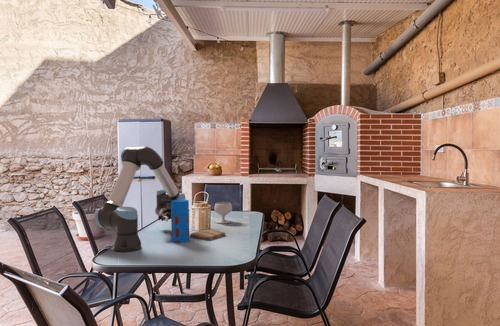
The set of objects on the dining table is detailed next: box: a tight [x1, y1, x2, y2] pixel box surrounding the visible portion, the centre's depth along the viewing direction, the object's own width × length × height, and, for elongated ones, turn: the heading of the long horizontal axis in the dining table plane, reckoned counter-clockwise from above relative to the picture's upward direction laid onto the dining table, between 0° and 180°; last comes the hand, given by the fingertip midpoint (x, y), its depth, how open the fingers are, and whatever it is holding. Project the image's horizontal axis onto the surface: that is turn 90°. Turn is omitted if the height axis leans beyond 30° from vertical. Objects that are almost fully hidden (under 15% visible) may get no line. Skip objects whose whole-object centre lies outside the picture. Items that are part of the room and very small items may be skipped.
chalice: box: [213, 201, 233, 224], centre depth 271 cm, size 14×14×15 cm
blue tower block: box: [170, 198, 190, 244], centre depth 216 cm, size 11×11×25 cm
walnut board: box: [189, 228, 226, 241], centre depth 227 cm, size 16×16×2 cm
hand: (177, 218), depth 221 cm, fingers open, 13 cm apart
